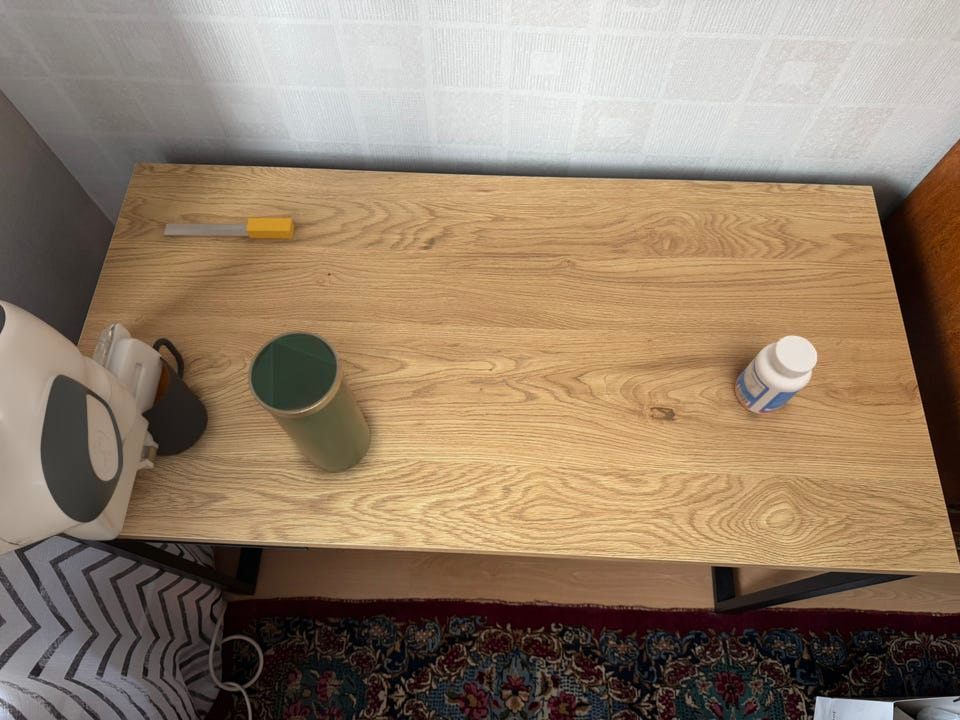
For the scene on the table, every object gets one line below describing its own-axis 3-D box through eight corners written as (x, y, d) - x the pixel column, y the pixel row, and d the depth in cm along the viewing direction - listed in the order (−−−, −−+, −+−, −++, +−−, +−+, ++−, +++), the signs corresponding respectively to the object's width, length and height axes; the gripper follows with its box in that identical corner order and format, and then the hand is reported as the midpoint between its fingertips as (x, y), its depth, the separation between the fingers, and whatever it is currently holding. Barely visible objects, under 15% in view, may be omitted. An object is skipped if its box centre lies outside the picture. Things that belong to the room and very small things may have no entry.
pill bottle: (787, 381, 80) (832, 341, 70) (776, 423, 77) (820, 387, 67) (739, 363, 81) (776, 321, 71) (727, 403, 78) (763, 365, 68)
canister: (340, 488, 73) (295, 431, 55) (287, 446, 76) (228, 379, 58) (386, 433, 76) (358, 362, 58) (335, 394, 79) (292, 315, 61)
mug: (223, 369, 80) (191, 325, 71) (196, 458, 74) (158, 421, 65) (159, 366, 80) (119, 321, 72) (127, 455, 74) (79, 417, 65)
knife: (294, 226, 90) (291, 218, 88) (292, 238, 89) (289, 230, 87) (168, 224, 90) (162, 216, 88) (164, 237, 89) (159, 229, 87)
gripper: (77, 314, 63) (143, 372, 75) (8, 522, 54) (96, 549, 66) (140, 315, 63) (196, 372, 75) (82, 523, 54) (156, 549, 66)
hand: (149, 456), depth 71 cm, fingers closed
